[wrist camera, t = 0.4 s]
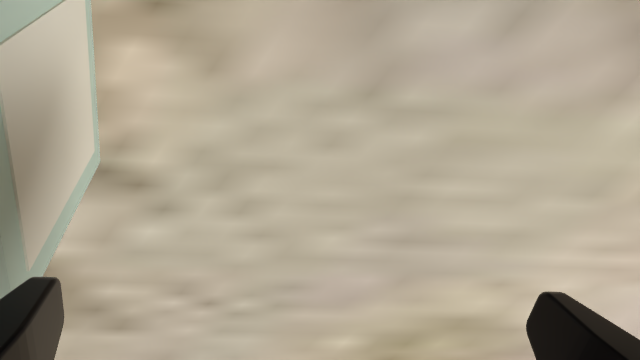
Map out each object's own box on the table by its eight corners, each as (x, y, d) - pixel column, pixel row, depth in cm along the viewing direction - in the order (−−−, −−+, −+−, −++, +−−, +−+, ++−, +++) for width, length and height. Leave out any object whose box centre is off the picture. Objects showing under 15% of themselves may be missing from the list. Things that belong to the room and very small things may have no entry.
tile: (102, 161, 21) (20, 326, 13) (47, 157, 20) (-70, 325, 13) (90, -50, 17) (-36, 10, 9) (22, -60, 17) (-169, -6, 9)
